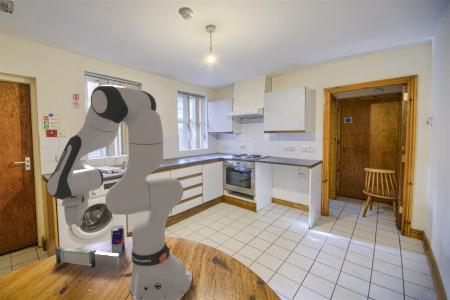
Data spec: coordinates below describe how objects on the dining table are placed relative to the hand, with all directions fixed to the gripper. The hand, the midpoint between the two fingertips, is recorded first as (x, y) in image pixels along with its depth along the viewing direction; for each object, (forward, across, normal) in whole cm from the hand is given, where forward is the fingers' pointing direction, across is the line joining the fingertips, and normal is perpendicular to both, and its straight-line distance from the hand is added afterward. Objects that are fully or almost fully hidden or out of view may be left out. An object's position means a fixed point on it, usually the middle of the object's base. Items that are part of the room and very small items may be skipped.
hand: (79, 225), depth 91 cm
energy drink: (+14, +4, +15) cm, 21 cm away
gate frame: (+14, +9, +4) cm, 17 cm away
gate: (+13, +7, 0) cm, 15 cm away
